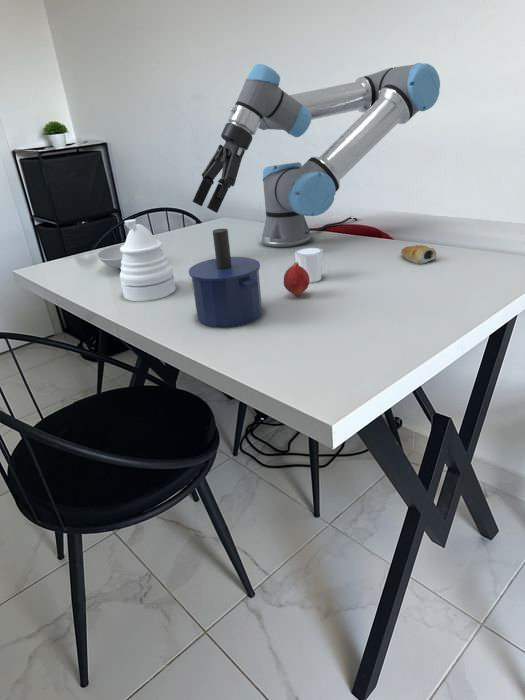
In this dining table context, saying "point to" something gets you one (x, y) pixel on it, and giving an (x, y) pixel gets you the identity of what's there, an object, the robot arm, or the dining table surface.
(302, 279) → the onion
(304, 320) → the dining table surface
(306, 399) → the dining table surface
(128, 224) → the honey pot
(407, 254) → the pastry
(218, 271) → the lid
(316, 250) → the white tapered cylinder
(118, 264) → the dish
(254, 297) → the pot
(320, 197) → the robot arm
